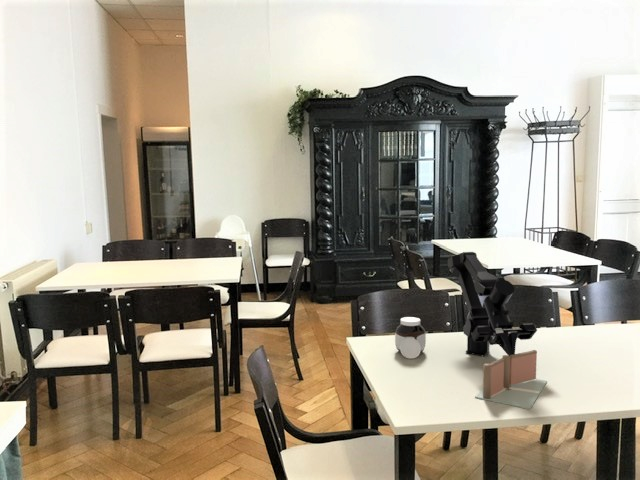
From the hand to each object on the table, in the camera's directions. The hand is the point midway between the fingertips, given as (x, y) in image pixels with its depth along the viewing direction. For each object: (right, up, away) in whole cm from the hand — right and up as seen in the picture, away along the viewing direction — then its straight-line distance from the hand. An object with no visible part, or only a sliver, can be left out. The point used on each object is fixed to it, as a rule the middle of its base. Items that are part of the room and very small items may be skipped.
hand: (512, 358), depth 158 cm
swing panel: (+1, -6, -3) cm, 7 cm away
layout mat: (-3, -7, -6) cm, 10 cm away
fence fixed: (-7, -8, -9) cm, 14 cm away
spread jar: (-26, -4, +26) cm, 37 cm away
